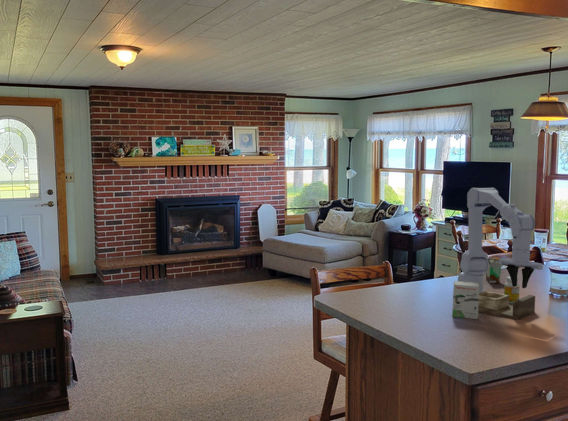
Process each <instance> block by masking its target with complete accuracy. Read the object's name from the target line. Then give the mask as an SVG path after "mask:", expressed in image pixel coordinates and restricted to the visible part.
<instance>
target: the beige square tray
mask: <svg viewBox="0 0 568 421" xmlns="http://www.w3.org/2000/svg"><path fill="white" fill-rule="evenodd" d="M509 305H510V303H509V295H504V293H497V292H493V291H492V292H491V291H486V290H485V291H483V292H482V293H479V304H478V307H483V308H487V309H492V310H497V311H498V310H500V309H503V308H505V307H507V306H509Z"/></svg>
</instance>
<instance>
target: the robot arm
mask: <svg viewBox="0 0 568 421" xmlns="http://www.w3.org/2000/svg"><path fill="white" fill-rule="evenodd" d="M466 194H467V195H466V200H467V201H466V202H467V203H466V206H467V208H468V230H467V231H468V235H467V236H468V241H467V242H468V247H467V248H468V249H467V250H465V251H464V252H463V253H462V254H461V260H460V263H459V264H460V265H459V266H460V270H461V271H462V272H460V273H459V275H458V277H457V281H460V282H472V283H478V284H479V293H482V292H484V281H485V280H484V278H485V277H484V276H485V275H486V272H487V270H488V268H489V262H488V258H489V257H488V254H487V253H486V252H485V251H484V250H483V212H484V211H485V209H486V208H488V207H490V206H493V207H494V208H495V209H496V210H498V211H499V215H500V216H501V217H502V218H503V219H504V220H505V221H506V222H507V223H509V228H510V230H511V232H510V234H511V236H512V246H511V247H512V248H511V249H512V251H511V252H512V253H511V258H499V259H498V260H499V264H501V265H502V264H503V266H504V265H505V266H506V270H507V272H508V275H509V276H510V277H511V281H512V286H513V287H515V286H517V283H518V282H517V278H518V273H519V270H520V268H521V277H522V278H521V279H522V283H521V288H522V289H527V286H528V284H529V280H530V278H531V276H532V274H533V272H534V271H535V270H539V271H541V270H543V266H544V263H540V262H535V261H531V260H530V259H531V258H530V257H531V256H530V255H531V254H530V253H531V234H532V231H533V230H534V229H535V226H536V221H535V218H534V217H533V216H532V214H525V213H524V212H523V210H522V211H521V210H520V209H519V208H517V207H516V204H514V203H507V202H506V201H505V200H504V199H503V198H502V197H501V196H500V195H499V191H498V190H497V189H496V188H495V187H471V188H470V189H469V190H468V192H467V193H466Z"/></svg>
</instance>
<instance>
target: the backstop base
mask: <svg viewBox="0 0 568 421" xmlns="http://www.w3.org/2000/svg"><path fill="white" fill-rule="evenodd" d="M535 309H536V295H532V294H528V295H527V296H523V297H521V298H519V299H518V300H516V301H514V302H513V304H509V306H507V307H505V308H503V309H500V310H498V311H497V310H492V309H487V308H483V307H478V313H479V312H480V313H484V314H487V315H492V316H498V317H502V318H507V319H513V320H517V321H518V320H521V319H523V318H525V317H527V316H529V315H532V314H533V313H534V314H535Z"/></svg>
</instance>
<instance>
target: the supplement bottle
mask: <svg viewBox="0 0 568 421" xmlns="http://www.w3.org/2000/svg"><path fill="white" fill-rule="evenodd" d="M518 281H519V278H518V277H517V286H515V287H513V286H512V281H511V277H510V275H509V276H507V277H506V282H505V283H504V292H503V294H504V295H509V304H510V305H513V302H514V301H516V300H518V299H520V286H521V285H520V283H518Z"/></svg>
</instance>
